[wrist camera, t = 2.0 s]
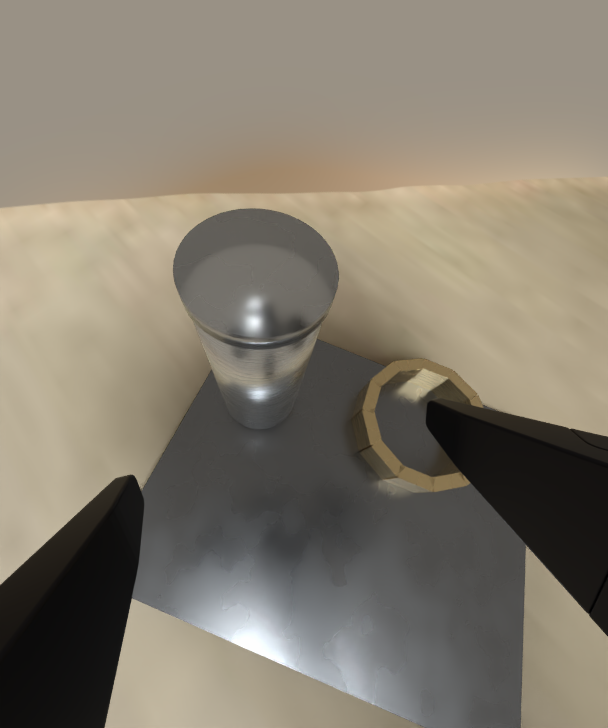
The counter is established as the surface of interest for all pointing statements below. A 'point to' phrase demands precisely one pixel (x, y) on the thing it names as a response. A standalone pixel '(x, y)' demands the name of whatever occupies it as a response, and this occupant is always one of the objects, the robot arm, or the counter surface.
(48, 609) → the robot arm
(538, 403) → the counter surface
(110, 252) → the counter surface
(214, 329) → the grey cylindrical piece
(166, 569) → the base
